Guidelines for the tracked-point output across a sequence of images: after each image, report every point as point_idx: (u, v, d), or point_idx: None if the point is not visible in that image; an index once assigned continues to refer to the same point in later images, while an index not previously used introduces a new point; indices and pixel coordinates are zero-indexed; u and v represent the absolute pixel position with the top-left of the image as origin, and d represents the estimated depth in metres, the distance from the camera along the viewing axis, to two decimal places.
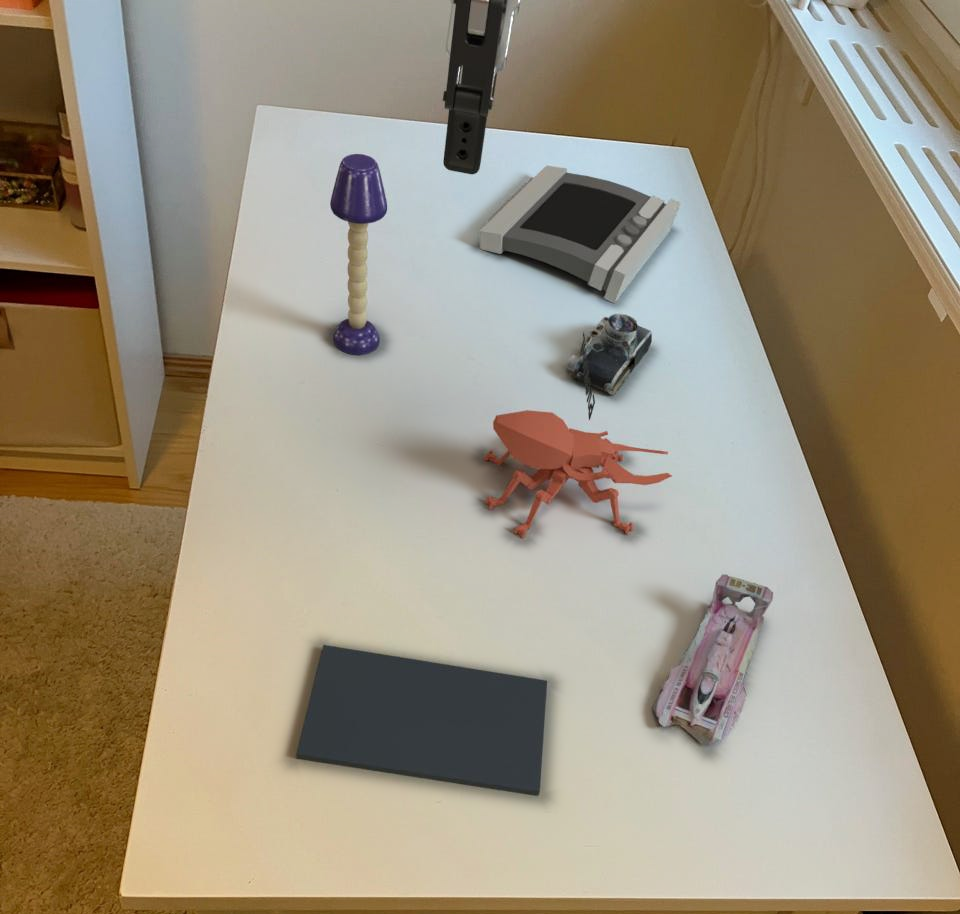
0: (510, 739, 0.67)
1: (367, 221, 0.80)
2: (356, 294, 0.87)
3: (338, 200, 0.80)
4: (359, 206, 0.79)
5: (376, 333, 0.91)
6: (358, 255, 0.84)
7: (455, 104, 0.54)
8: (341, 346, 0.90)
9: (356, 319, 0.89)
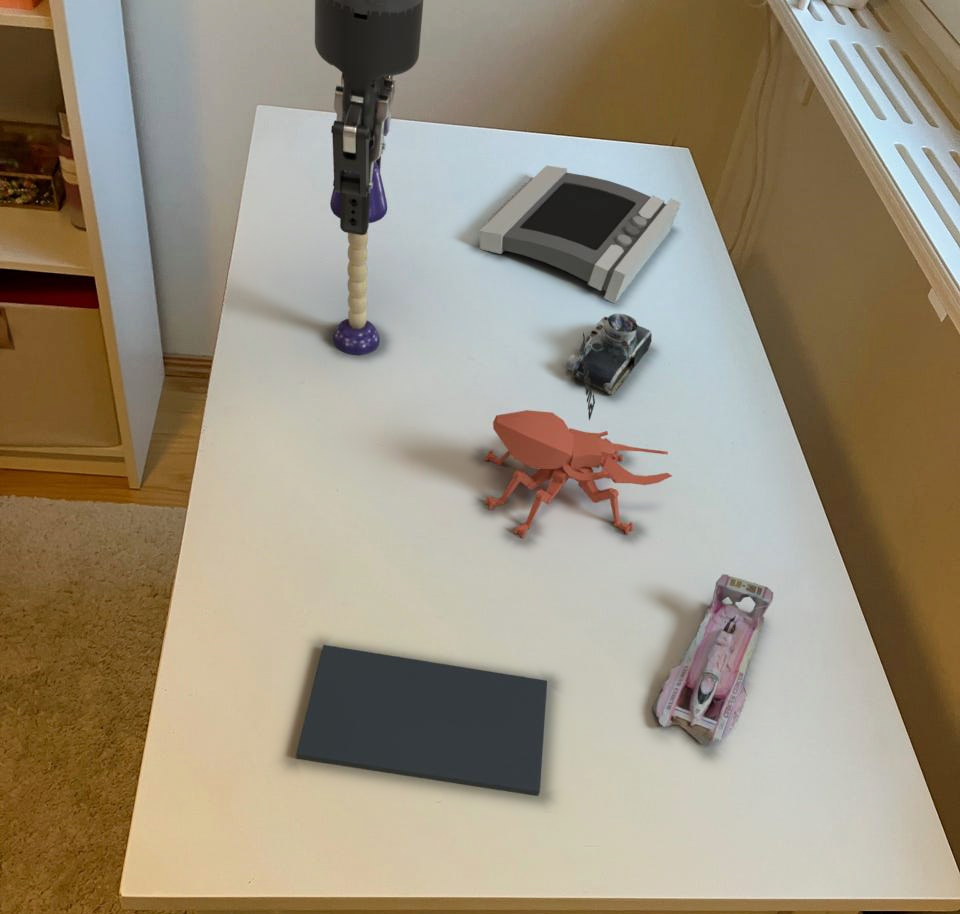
0: (510, 739, 0.67)
1: None
2: (356, 294, 0.87)
3: (338, 200, 0.80)
4: None
5: (376, 333, 0.91)
6: (358, 255, 0.84)
7: (342, 188, 0.75)
8: (341, 346, 0.90)
9: (356, 319, 0.89)
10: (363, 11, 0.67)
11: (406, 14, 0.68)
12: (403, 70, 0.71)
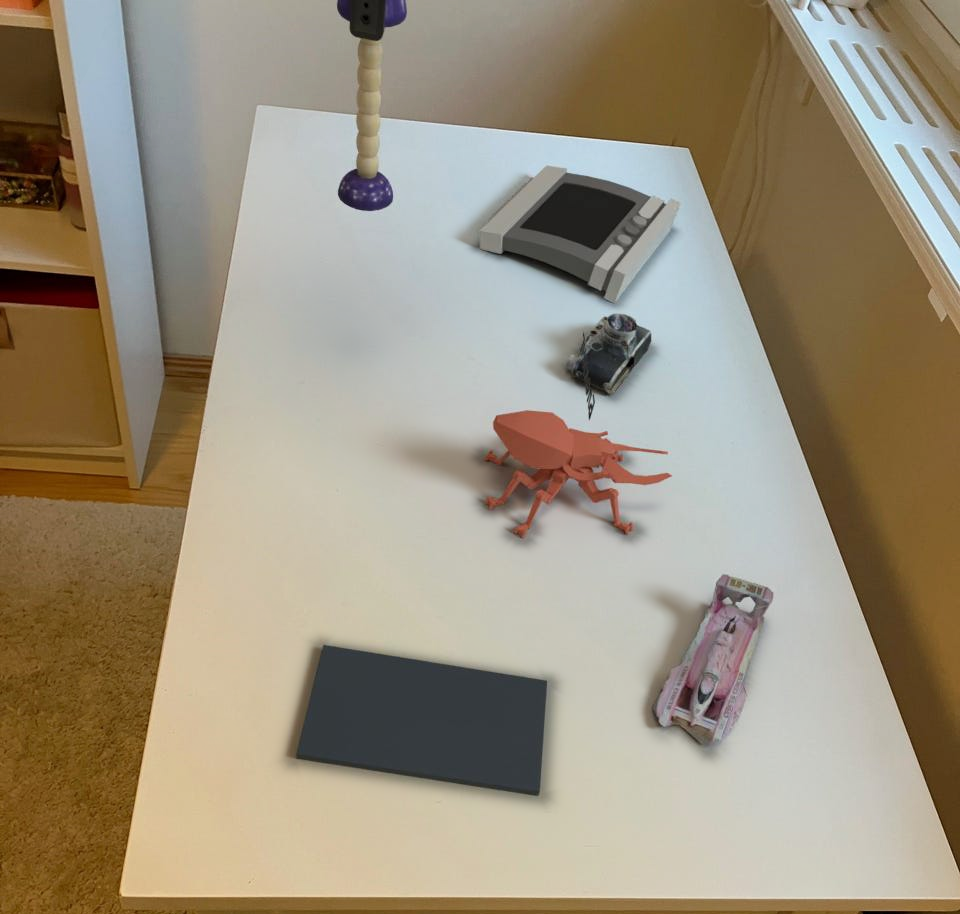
0: (510, 739, 0.67)
1: None
2: (367, 130, 0.72)
3: None
4: None
5: (389, 186, 0.76)
6: (370, 76, 0.69)
7: None
8: (348, 200, 0.75)
9: (366, 165, 0.74)
10: None
11: None
12: None
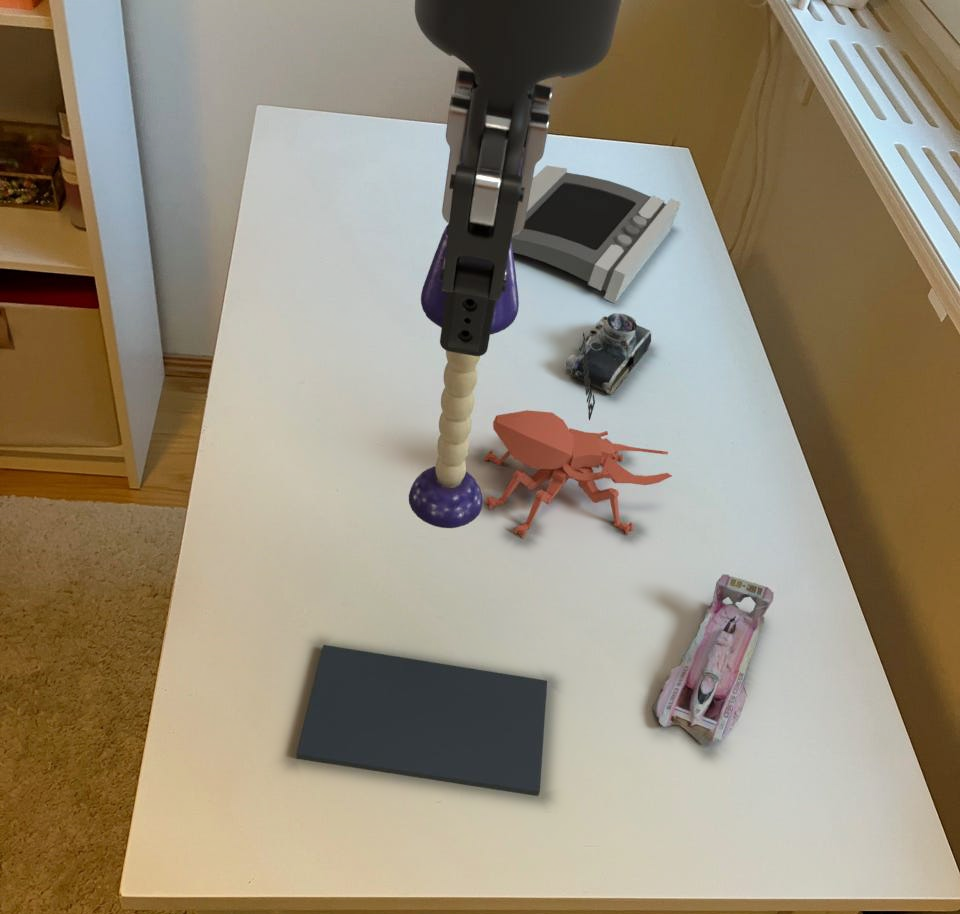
0: (510, 739, 0.67)
1: None
2: (454, 439, 0.52)
3: (437, 295, 0.45)
4: None
5: (479, 492, 0.56)
6: (463, 381, 0.49)
7: (456, 286, 0.40)
8: (423, 515, 0.56)
9: (450, 475, 0.54)
10: None
11: None
12: (589, 67, 0.36)
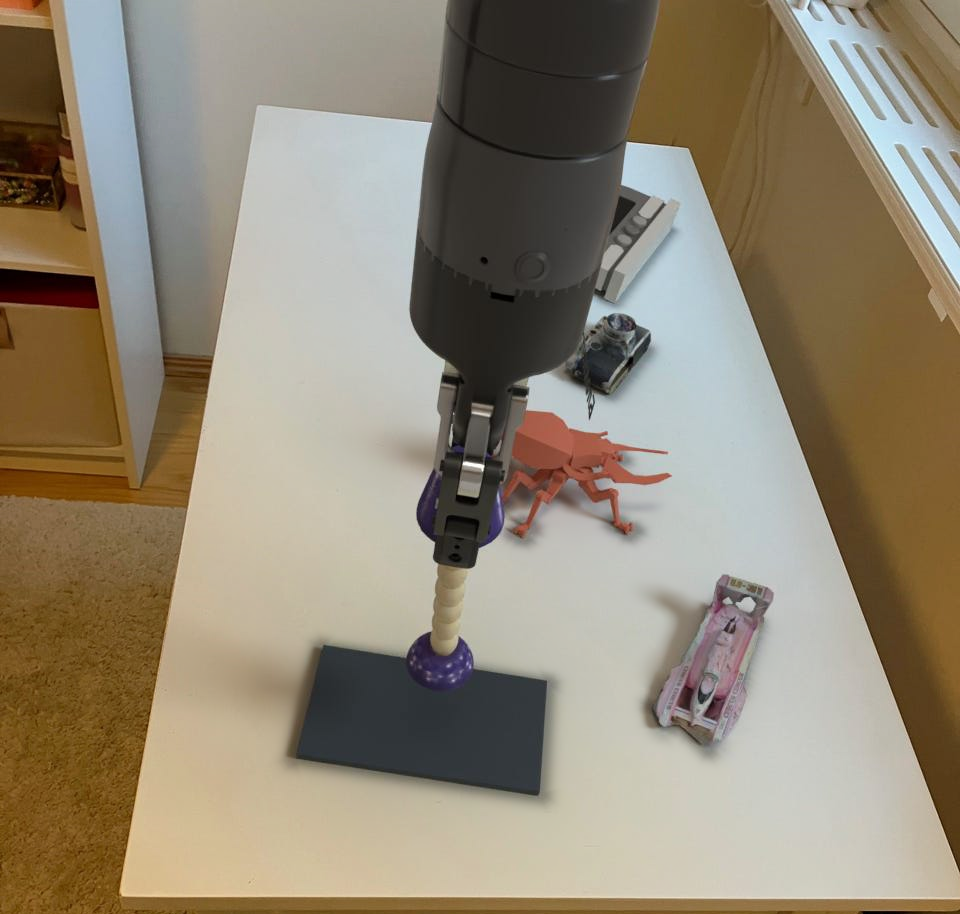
0: (510, 739, 0.67)
1: None
2: (446, 620, 0.57)
3: (431, 517, 0.50)
4: None
5: (470, 656, 0.61)
6: (455, 577, 0.55)
7: (446, 532, 0.45)
8: (419, 680, 0.61)
9: (443, 647, 0.59)
10: (508, 290, 0.37)
11: (580, 287, 0.38)
12: None
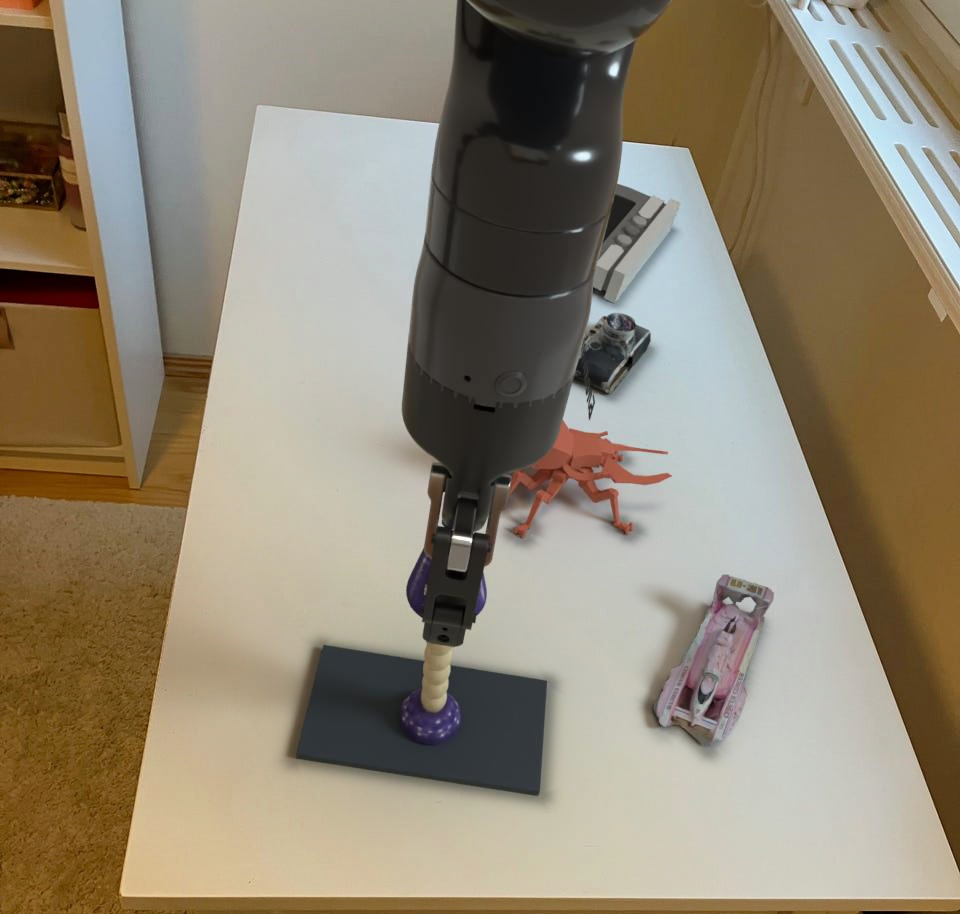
0: (510, 739, 0.67)
1: None
2: (435, 682, 0.62)
3: (419, 596, 0.55)
4: None
5: (458, 712, 0.66)
6: (442, 646, 0.60)
7: (434, 621, 0.48)
8: (411, 734, 0.66)
9: (433, 705, 0.64)
10: (489, 403, 0.41)
11: (554, 397, 0.43)
12: (540, 459, 0.46)
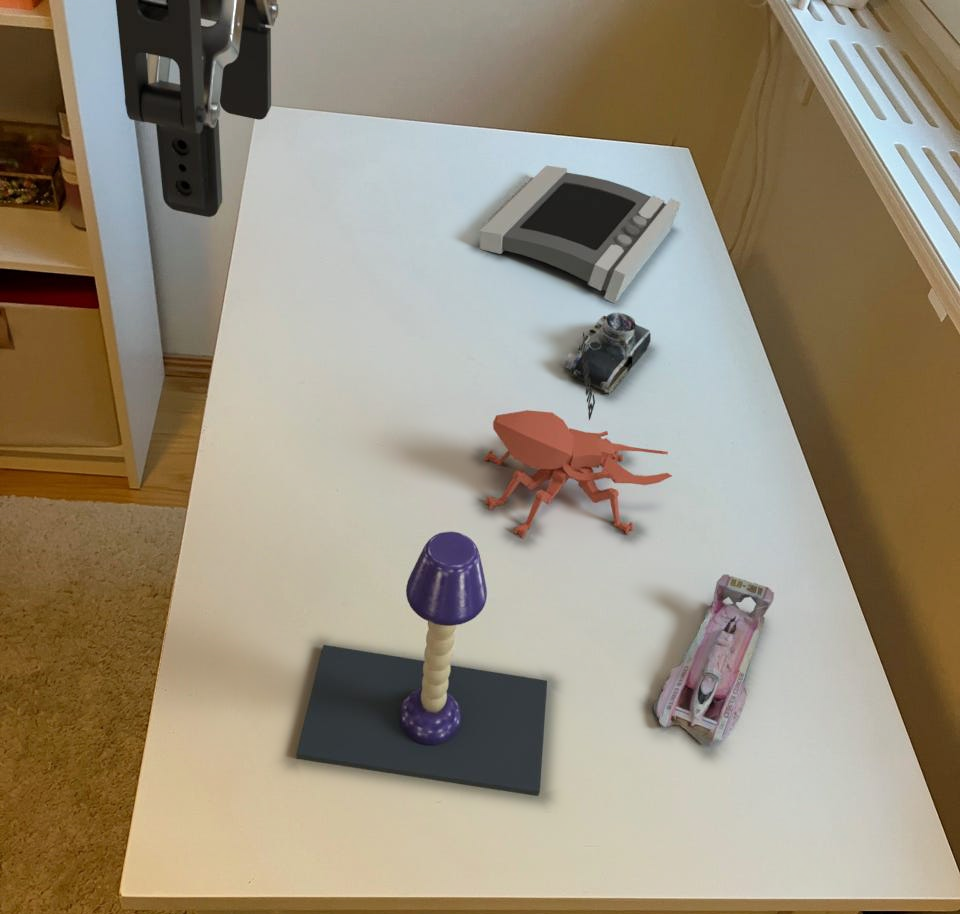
0: (510, 739, 0.67)
1: (460, 623, 0.56)
2: (435, 682, 0.62)
3: (419, 596, 0.55)
4: (450, 607, 0.55)
5: (458, 712, 0.66)
6: (442, 646, 0.60)
7: (143, 113, 0.35)
8: (411, 734, 0.66)
9: (433, 705, 0.64)
10: None
11: None
12: None
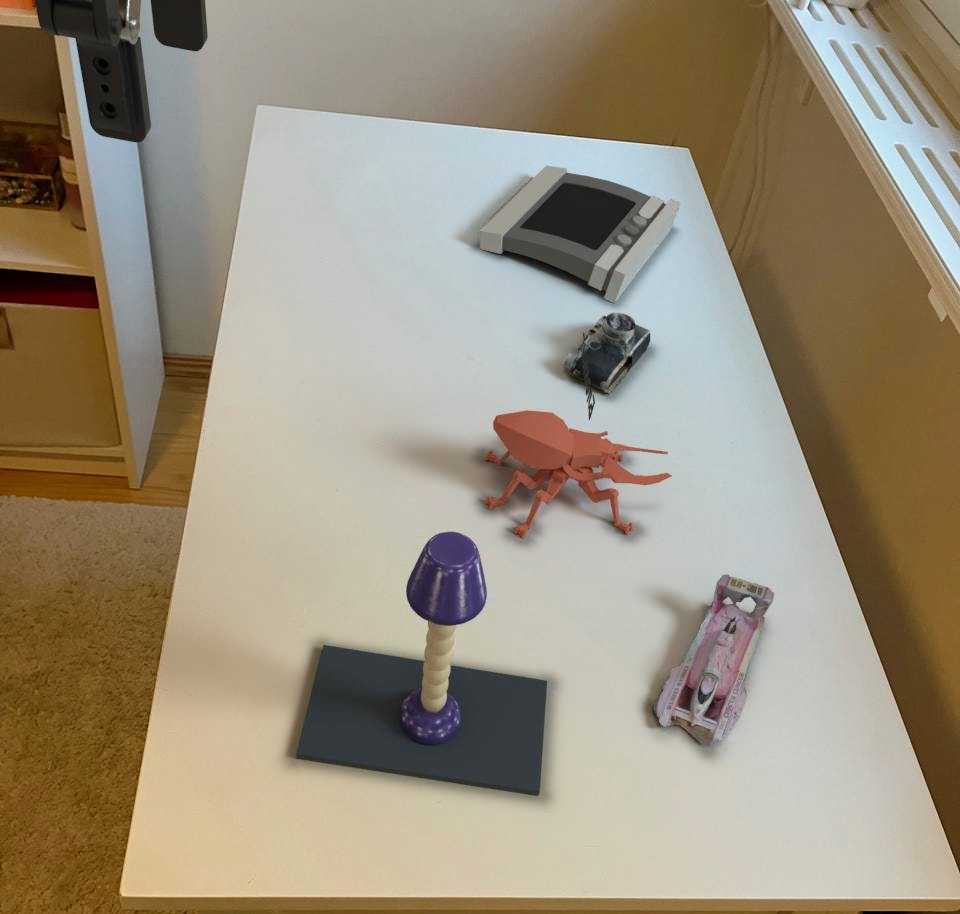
0: (510, 739, 0.67)
1: (460, 623, 0.56)
2: (435, 682, 0.62)
3: (419, 596, 0.55)
4: (450, 607, 0.55)
5: (458, 712, 0.66)
6: (442, 646, 0.60)
7: (56, 25, 0.34)
8: (411, 734, 0.66)
9: (433, 705, 0.64)
10: None
11: None
12: None
